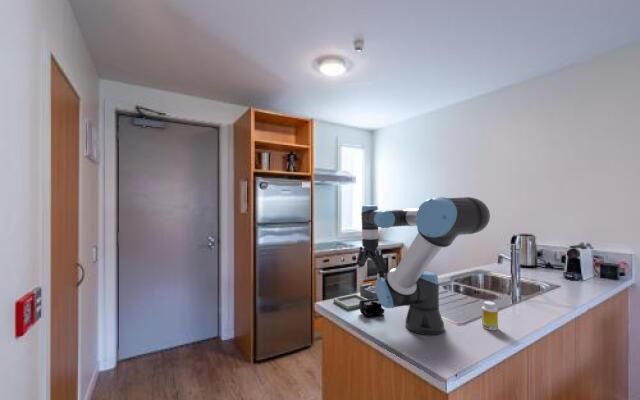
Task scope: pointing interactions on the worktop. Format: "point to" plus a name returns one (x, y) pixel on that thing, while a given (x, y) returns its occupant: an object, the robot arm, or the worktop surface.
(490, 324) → the supplement bottle
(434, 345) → the worktop surface
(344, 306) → the grey square frame
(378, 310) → the black ridged block
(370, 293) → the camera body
